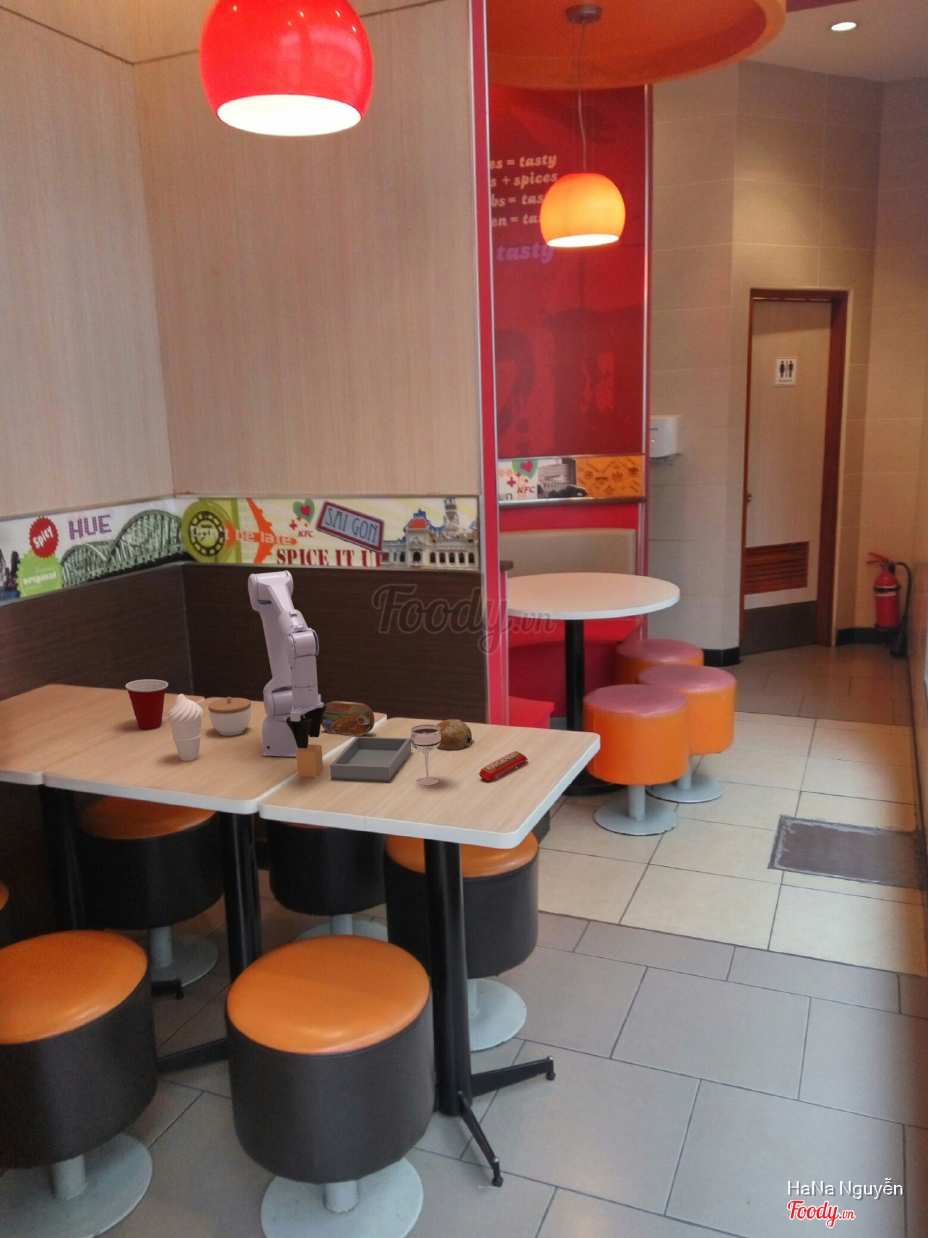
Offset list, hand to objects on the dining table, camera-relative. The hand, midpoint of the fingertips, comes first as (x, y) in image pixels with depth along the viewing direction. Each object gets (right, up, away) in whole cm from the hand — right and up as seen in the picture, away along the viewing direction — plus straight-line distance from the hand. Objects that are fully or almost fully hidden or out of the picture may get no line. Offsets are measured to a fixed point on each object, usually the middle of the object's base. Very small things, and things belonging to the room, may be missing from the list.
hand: (308, 742), depth 222 cm
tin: (+6, -2, +28) cm, 29 cm away
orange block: (0, -7, +2) cm, 7 cm away
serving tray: (+14, -6, +5) cm, 16 cm away
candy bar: (+44, -7, -1) cm, 45 cm away
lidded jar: (-25, -2, +33) cm, 41 cm away
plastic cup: (-48, -1, +39) cm, 62 cm away
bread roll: (+32, -3, +18) cm, 37 cm away
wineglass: (+27, -8, -6) cm, 29 cm away
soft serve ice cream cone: (-31, -6, +14) cm, 34 cm away
